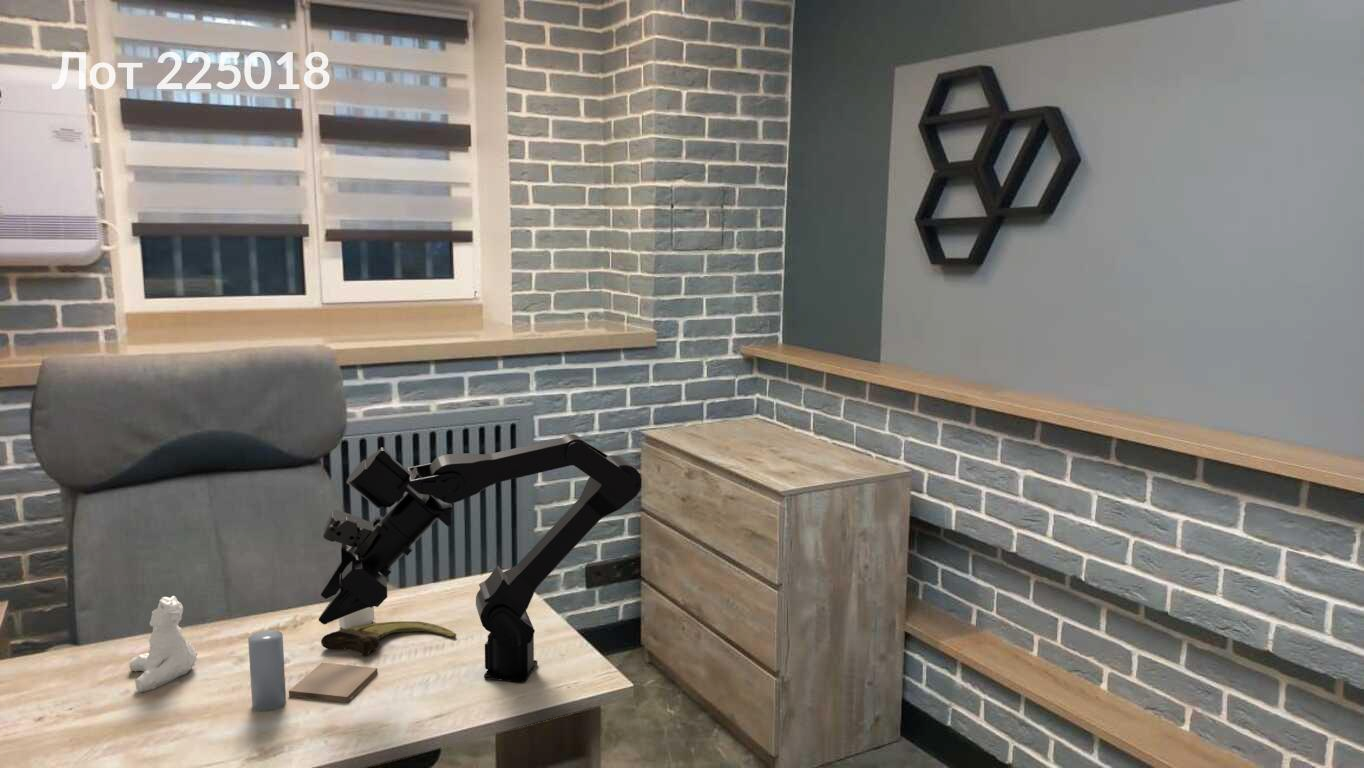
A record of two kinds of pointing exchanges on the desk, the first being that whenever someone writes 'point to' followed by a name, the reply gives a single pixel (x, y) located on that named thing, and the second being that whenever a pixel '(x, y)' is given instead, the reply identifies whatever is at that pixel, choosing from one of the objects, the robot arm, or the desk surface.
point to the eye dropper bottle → (357, 618)
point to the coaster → (333, 682)
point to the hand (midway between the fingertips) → (322, 609)
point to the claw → (375, 635)
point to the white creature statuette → (164, 648)
